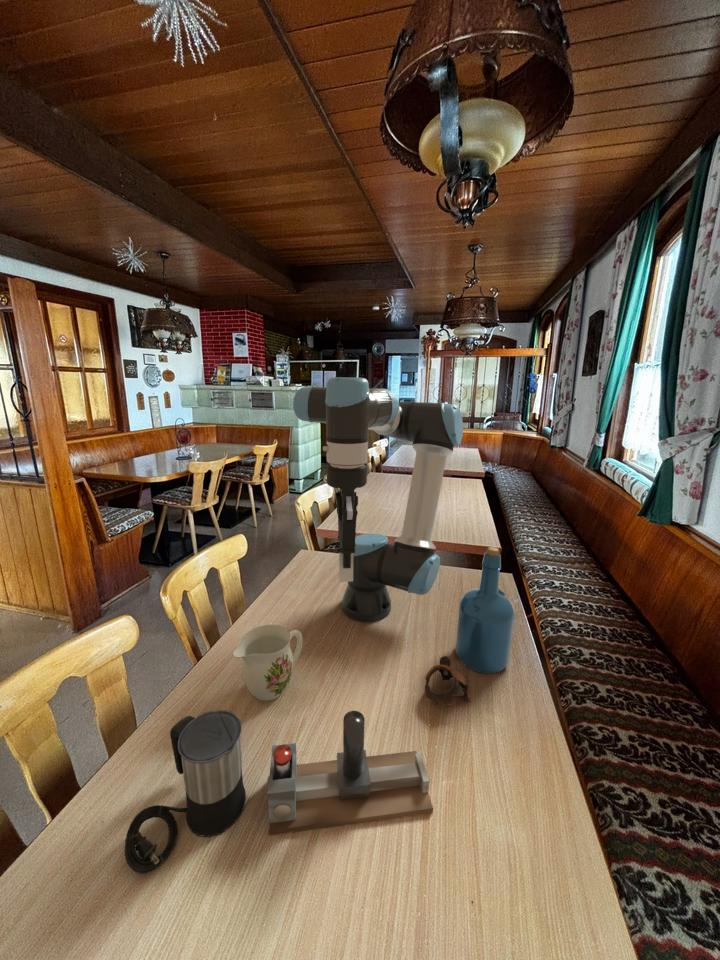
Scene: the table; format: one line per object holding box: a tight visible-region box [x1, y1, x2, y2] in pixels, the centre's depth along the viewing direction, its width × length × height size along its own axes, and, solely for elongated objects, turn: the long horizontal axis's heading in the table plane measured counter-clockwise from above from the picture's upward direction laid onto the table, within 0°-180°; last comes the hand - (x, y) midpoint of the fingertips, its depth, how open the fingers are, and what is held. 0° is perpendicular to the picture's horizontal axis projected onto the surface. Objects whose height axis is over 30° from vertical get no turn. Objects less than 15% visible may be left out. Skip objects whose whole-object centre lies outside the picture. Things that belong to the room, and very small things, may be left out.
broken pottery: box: [424, 655, 471, 707], centre depth 86 cm, size 12×10×8 cm
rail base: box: [267, 742, 434, 836], centre depth 65 cm, size 10×26×7 cm, turn 98°
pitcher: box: [232, 624, 303, 702], centre depth 86 cm, size 11×18×14 cm, turn 141°
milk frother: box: [124, 709, 247, 874], centre depth 59 cm, size 14×16×15 cm
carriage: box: [336, 710, 371, 801], centre depth 63 cm, size 6×5×14 cm
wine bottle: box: [455, 546, 516, 675], centre depth 94 cm, size 14×13×30 cm
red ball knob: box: [273, 744, 291, 780], centre depth 62 cm, size 3×3×5 cm
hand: (345, 579), depth 76 cm, fingers closed
